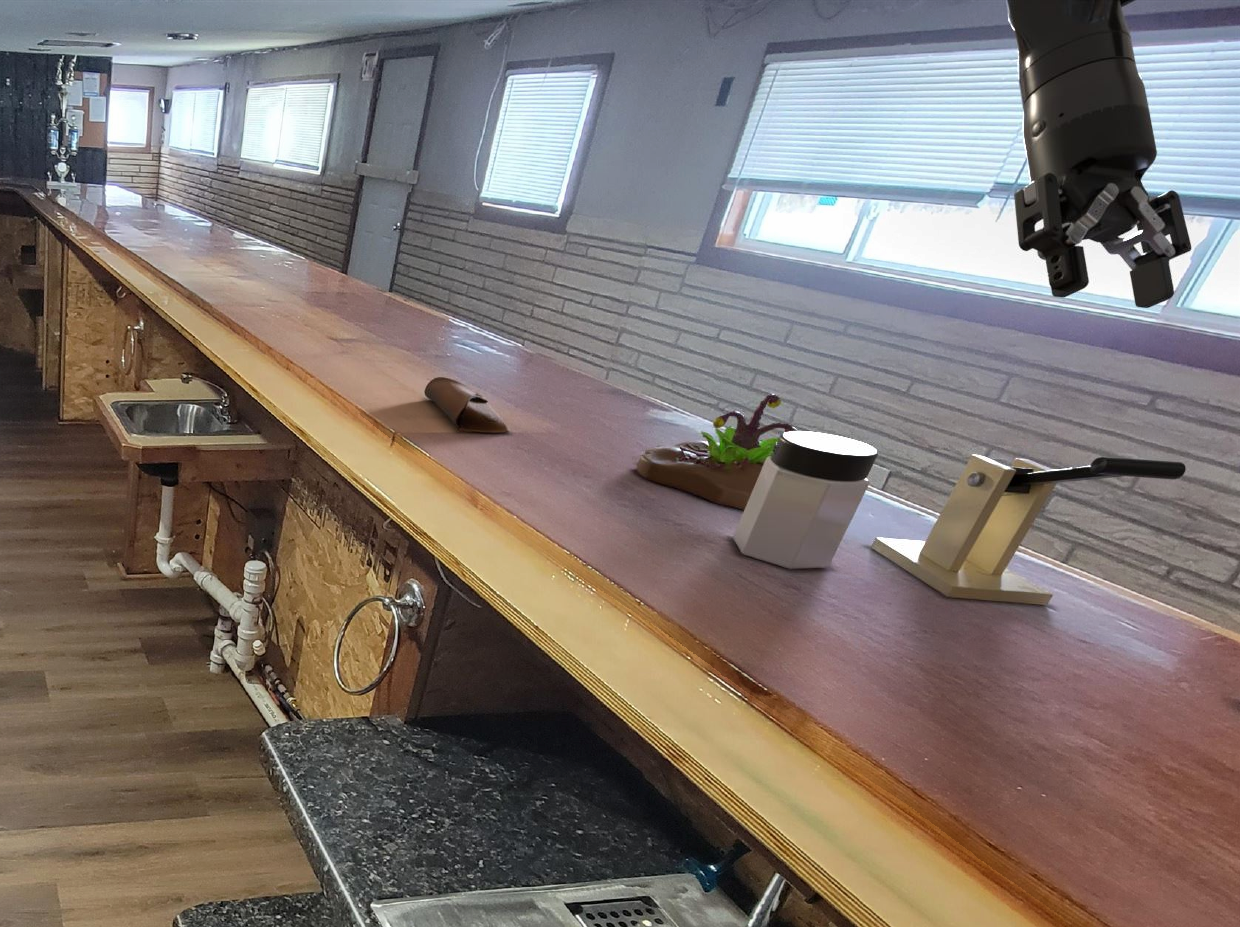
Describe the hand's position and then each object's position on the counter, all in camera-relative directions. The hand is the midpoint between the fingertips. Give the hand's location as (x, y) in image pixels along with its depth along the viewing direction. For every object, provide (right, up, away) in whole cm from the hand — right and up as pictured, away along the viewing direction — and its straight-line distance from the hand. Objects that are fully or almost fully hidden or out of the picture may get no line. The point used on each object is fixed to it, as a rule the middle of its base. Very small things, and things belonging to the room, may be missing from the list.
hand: (1113, 297), depth 78 cm
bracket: (-1, -23, +14) cm, 27 cm away
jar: (-16, -21, +17) cm, 31 cm away
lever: (-1, -16, +3) cm, 16 cm away
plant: (-8, -10, +36) cm, 39 cm away
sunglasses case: (-33, +4, +59) cm, 68 cm away
